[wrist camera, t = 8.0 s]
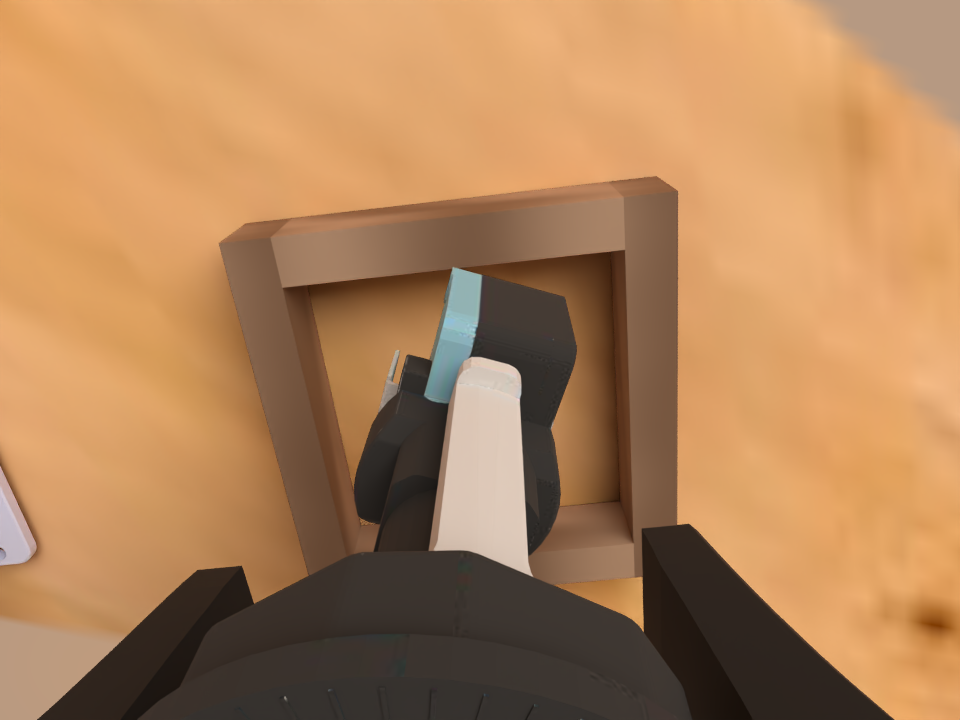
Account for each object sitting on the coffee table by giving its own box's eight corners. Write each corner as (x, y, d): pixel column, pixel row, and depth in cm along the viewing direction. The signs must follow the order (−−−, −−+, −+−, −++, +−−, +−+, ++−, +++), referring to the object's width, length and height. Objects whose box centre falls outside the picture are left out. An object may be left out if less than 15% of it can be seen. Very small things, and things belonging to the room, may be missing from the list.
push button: (536, 566, 15) (587, 1320, 6) (301, 511, 15) (-2, 1244, 6) (645, 295, 13) (1009, 960, 4) (359, 217, 12) (-49, 762, 3)
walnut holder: (330, 560, 22) (317, 606, 20) (245, 223, 18) (218, 243, 16) (660, 529, 21) (677, 573, 20) (656, 176, 17) (677, 190, 15)
